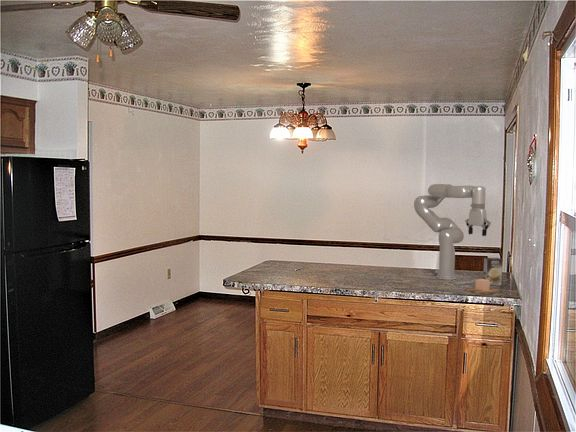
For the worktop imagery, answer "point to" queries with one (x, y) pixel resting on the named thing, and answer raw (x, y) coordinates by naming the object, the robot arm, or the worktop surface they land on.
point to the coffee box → (493, 270)
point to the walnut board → (487, 292)
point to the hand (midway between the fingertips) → (477, 234)
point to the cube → (482, 284)
